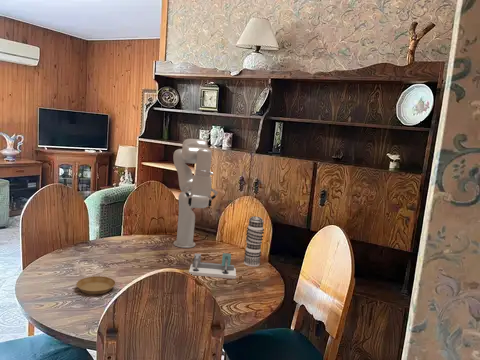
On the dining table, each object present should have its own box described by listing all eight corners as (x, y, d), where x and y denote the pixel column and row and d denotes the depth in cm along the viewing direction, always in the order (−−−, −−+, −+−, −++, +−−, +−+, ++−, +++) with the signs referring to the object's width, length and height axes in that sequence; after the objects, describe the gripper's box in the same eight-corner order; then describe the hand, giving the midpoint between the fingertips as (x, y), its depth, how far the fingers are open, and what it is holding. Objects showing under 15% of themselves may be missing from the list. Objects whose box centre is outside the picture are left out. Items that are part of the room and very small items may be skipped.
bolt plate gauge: (190, 267, 189) (192, 252, 189) (235, 271, 190) (236, 256, 189) (188, 274, 180) (190, 259, 179) (235, 278, 181) (237, 263, 180)
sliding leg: (221, 266, 189) (222, 253, 189) (229, 267, 190) (231, 253, 189) (221, 271, 182) (222, 258, 181) (229, 272, 182) (231, 258, 181)
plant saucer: (102, 279, 166) (102, 273, 165) (122, 290, 156) (122, 284, 156) (69, 287, 154) (69, 281, 154) (88, 300, 145) (88, 294, 145)
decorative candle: (259, 267, 198) (264, 220, 195) (241, 264, 200) (246, 218, 197) (261, 262, 207) (266, 217, 204) (244, 259, 209) (249, 214, 206)
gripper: (219, 174, 199) (216, 206, 201) (186, 171, 198) (183, 203, 200) (219, 176, 191) (216, 209, 194) (184, 172, 191) (181, 206, 193)
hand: (199, 206), depth 197 cm, fingers open, 9 cm apart
